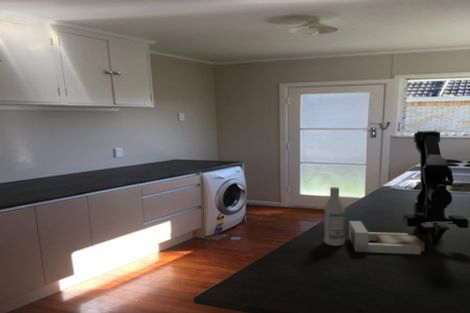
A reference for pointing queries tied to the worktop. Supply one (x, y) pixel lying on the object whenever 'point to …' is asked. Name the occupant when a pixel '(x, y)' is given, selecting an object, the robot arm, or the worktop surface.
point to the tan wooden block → (400, 240)
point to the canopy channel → (362, 238)
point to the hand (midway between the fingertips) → (433, 245)
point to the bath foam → (334, 219)
